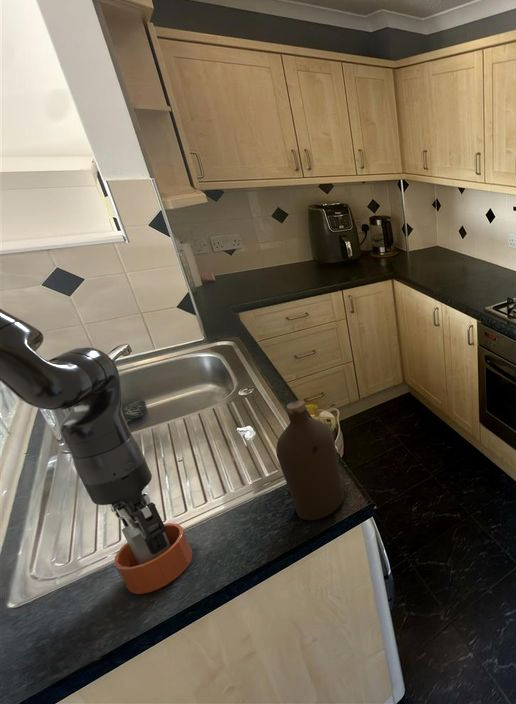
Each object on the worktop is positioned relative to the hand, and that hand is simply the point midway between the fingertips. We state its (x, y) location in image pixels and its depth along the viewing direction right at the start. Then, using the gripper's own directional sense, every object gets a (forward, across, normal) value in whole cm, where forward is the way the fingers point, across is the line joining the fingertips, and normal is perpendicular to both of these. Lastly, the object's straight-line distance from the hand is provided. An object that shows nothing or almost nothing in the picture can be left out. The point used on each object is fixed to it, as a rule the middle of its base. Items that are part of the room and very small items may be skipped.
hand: (148, 540), depth 72 cm
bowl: (+7, 0, 0) cm, 7 cm away
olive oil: (+7, +13, +24) cm, 28 cm away
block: (+6, 0, 0) cm, 7 cm away
